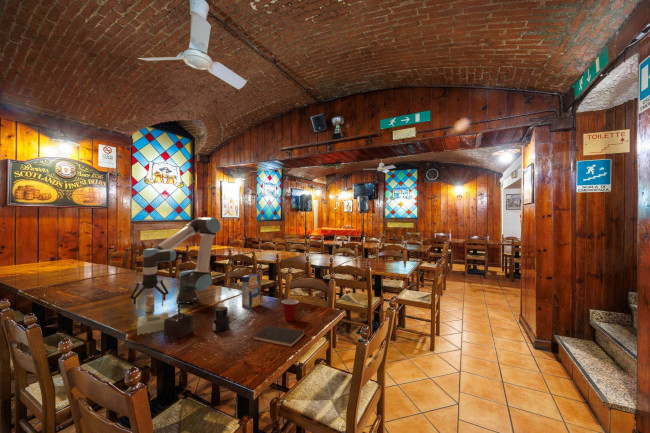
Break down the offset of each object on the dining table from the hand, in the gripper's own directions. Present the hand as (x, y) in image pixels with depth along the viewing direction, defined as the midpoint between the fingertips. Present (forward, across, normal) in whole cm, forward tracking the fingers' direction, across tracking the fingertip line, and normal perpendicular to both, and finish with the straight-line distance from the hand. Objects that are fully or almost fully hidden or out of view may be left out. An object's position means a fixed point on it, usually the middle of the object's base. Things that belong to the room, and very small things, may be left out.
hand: (149, 307), depth 171 cm
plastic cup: (+8, -75, +45) cm, 88 cm away
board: (+8, -2, +15) cm, 17 cm away
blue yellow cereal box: (+8, -62, +6) cm, 63 cm away
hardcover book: (+8, -60, +64) cm, 88 cm away
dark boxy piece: (+8, -16, +31) cm, 36 cm away
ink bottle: (+8, -35, +38) cm, 52 cm away
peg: (+8, 0, 0) cm, 8 cm away
